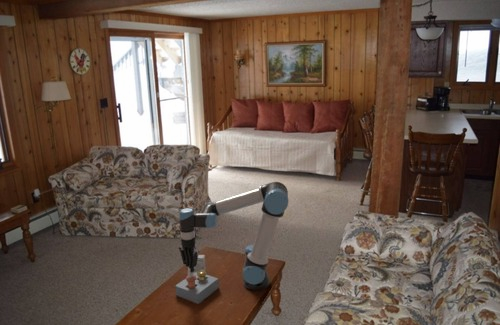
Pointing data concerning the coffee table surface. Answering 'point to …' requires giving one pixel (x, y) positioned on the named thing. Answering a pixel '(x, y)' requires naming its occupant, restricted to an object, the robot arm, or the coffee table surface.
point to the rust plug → (191, 282)
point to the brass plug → (202, 275)
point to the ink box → (200, 263)
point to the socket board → (197, 289)
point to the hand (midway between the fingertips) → (190, 276)
